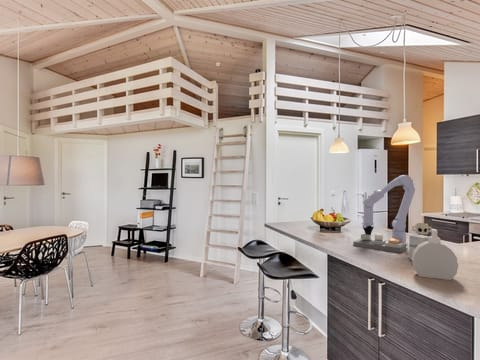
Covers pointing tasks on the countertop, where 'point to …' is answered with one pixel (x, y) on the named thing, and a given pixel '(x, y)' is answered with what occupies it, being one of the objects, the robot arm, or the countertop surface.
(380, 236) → the off-white button
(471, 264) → the countertop surface
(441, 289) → the countertop surface
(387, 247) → the switch panel
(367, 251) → the countertop surface
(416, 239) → the supplement box
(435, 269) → the soap bottle
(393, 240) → the brown rectangular block
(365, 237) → the pale green block
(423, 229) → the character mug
